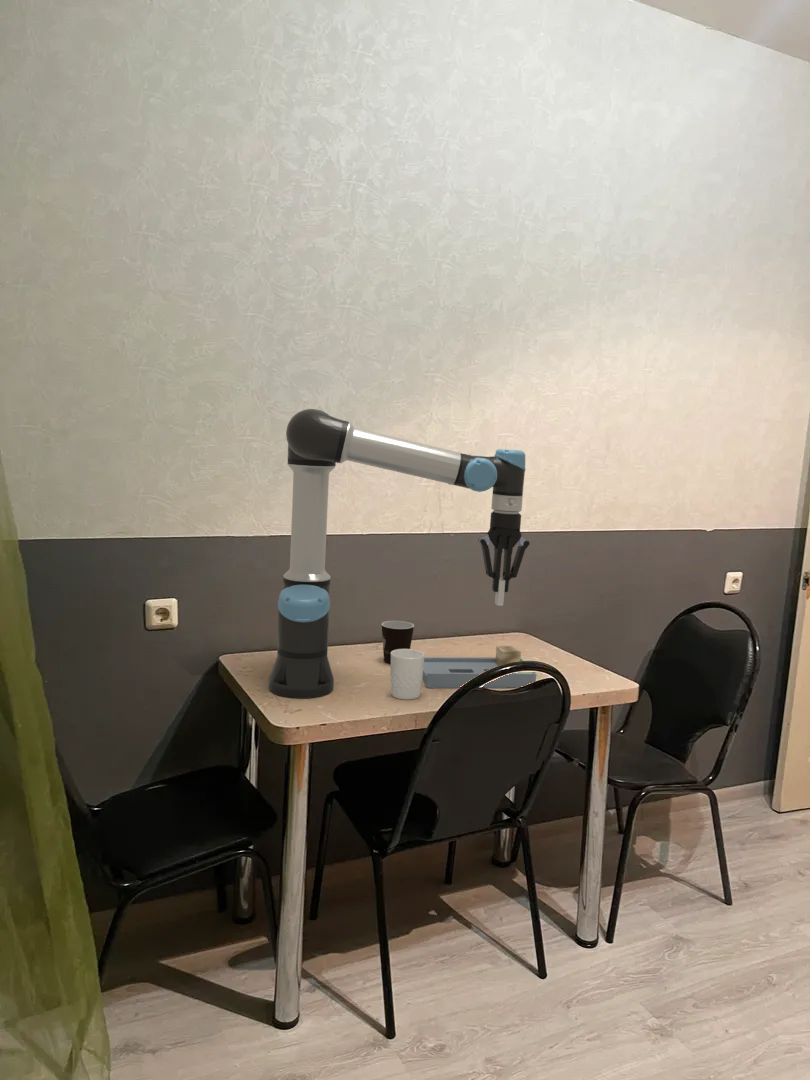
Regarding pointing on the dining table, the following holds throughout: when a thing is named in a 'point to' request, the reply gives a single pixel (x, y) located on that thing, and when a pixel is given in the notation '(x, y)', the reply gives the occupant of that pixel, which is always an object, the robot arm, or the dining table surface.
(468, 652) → the dining table surface
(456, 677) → the box
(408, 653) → the white cup
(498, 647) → the block
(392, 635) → the coffee mug
